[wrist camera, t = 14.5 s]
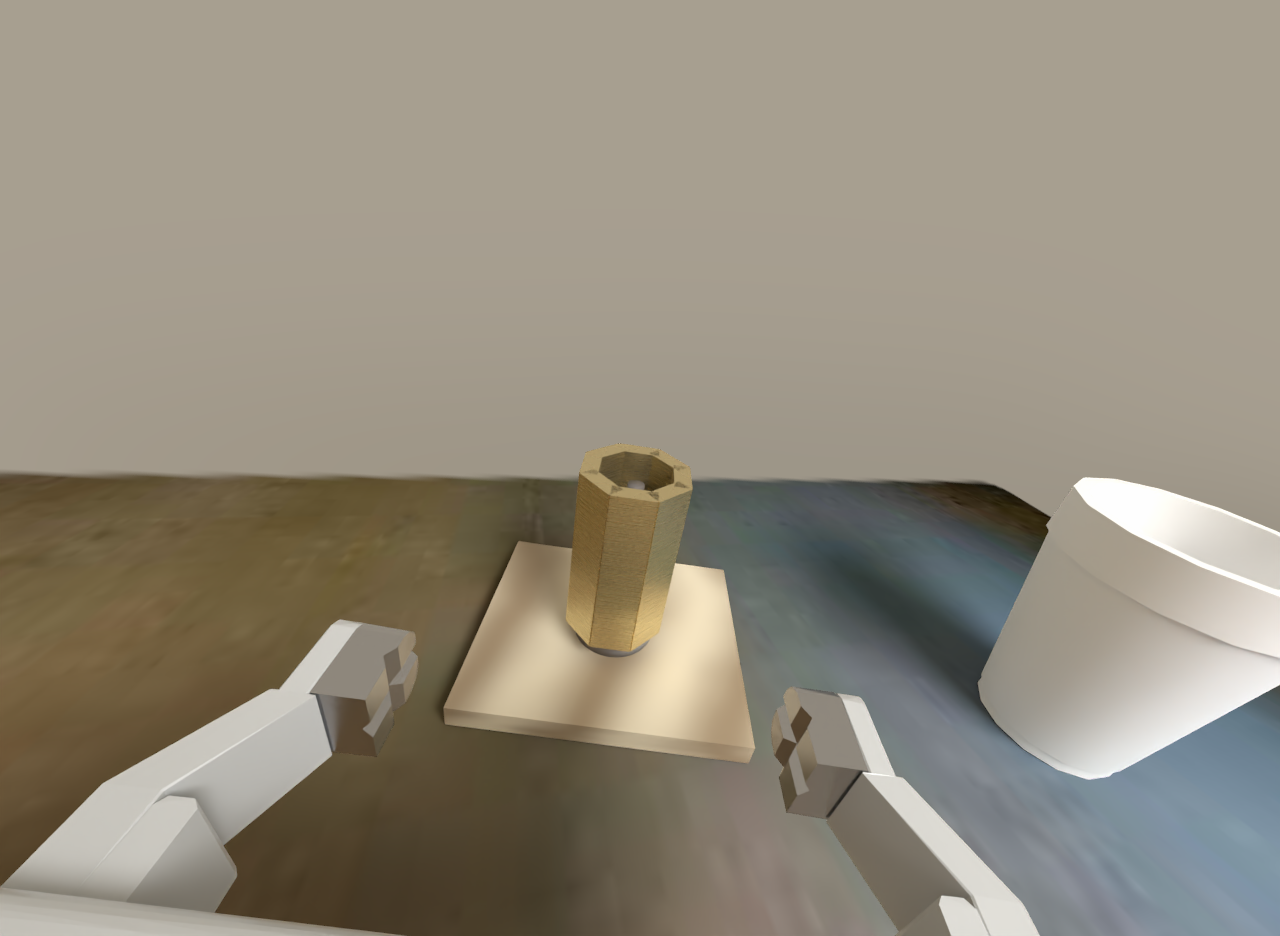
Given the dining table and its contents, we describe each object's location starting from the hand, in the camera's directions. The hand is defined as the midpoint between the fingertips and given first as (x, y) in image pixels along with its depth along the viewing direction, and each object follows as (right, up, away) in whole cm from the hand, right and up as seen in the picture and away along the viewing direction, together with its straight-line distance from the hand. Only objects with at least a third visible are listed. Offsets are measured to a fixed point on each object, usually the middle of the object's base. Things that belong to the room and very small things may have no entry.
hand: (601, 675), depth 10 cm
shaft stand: (-1, -5, +16) cm, 17 cm away
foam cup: (+23, -10, +16) cm, 30 cm away
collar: (-1, -3, +15) cm, 16 cm away
